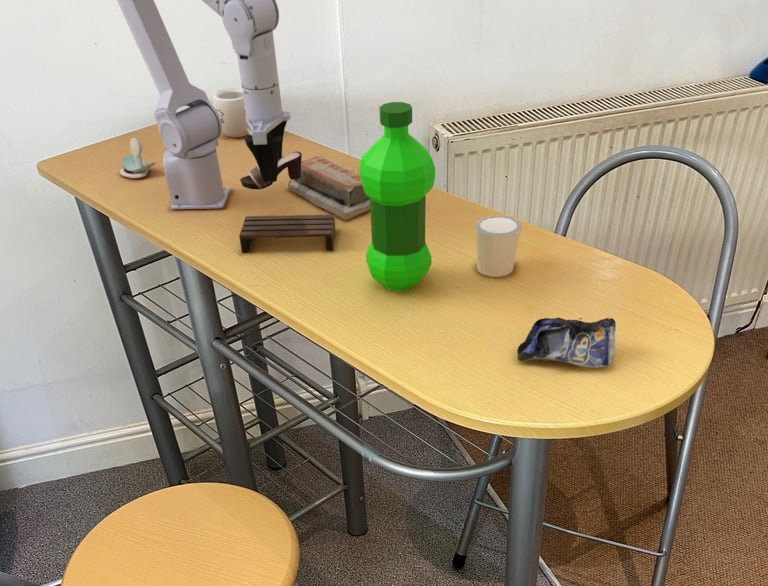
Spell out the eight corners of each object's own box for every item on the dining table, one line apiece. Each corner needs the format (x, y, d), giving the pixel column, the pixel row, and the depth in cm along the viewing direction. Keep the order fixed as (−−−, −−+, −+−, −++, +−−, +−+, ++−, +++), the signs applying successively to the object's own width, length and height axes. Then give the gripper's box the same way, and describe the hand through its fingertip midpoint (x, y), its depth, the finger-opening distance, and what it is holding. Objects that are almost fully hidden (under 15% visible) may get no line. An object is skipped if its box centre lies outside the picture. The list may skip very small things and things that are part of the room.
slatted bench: (242, 252, 125) (239, 235, 123) (248, 233, 130) (245, 216, 128) (332, 251, 125) (331, 233, 123) (335, 231, 130) (334, 214, 128)
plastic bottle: (423, 262, 121) (425, 90, 103) (438, 296, 114) (442, 117, 96) (361, 269, 120) (352, 97, 102) (372, 303, 113) (364, 125, 95)
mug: (210, 134, 163) (202, 94, 158) (241, 123, 167) (235, 84, 162) (243, 148, 157) (237, 107, 151) (275, 136, 161) (270, 96, 155)
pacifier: (137, 183, 147) (161, 172, 150) (127, 150, 142) (152, 139, 145) (113, 174, 150) (138, 164, 153) (103, 142, 145) (128, 131, 148)
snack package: (563, 394, 96) (627, 359, 101) (563, 349, 92) (630, 314, 97) (500, 365, 105) (562, 333, 109) (497, 321, 101) (561, 291, 105)
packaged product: (283, 164, 138) (327, 149, 143) (286, 190, 142) (329, 175, 146) (343, 194, 128) (388, 177, 133) (345, 222, 132) (389, 205, 136)
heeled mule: (237, 183, 128) (233, 160, 125) (298, 169, 131) (296, 146, 128) (245, 194, 125) (241, 171, 122) (307, 180, 128) (305, 157, 125)
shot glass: (521, 260, 121) (525, 217, 116) (512, 281, 116) (516, 237, 111) (479, 254, 122) (481, 212, 117) (468, 275, 118) (470, 232, 113)
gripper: (280, 99, 112) (291, 191, 121) (291, 68, 122) (300, 156, 131) (233, 100, 112) (248, 192, 122) (247, 69, 122) (260, 157, 132)
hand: (272, 173), depth 127 cm, fingers closed on heeled mule, 5 cm apart
